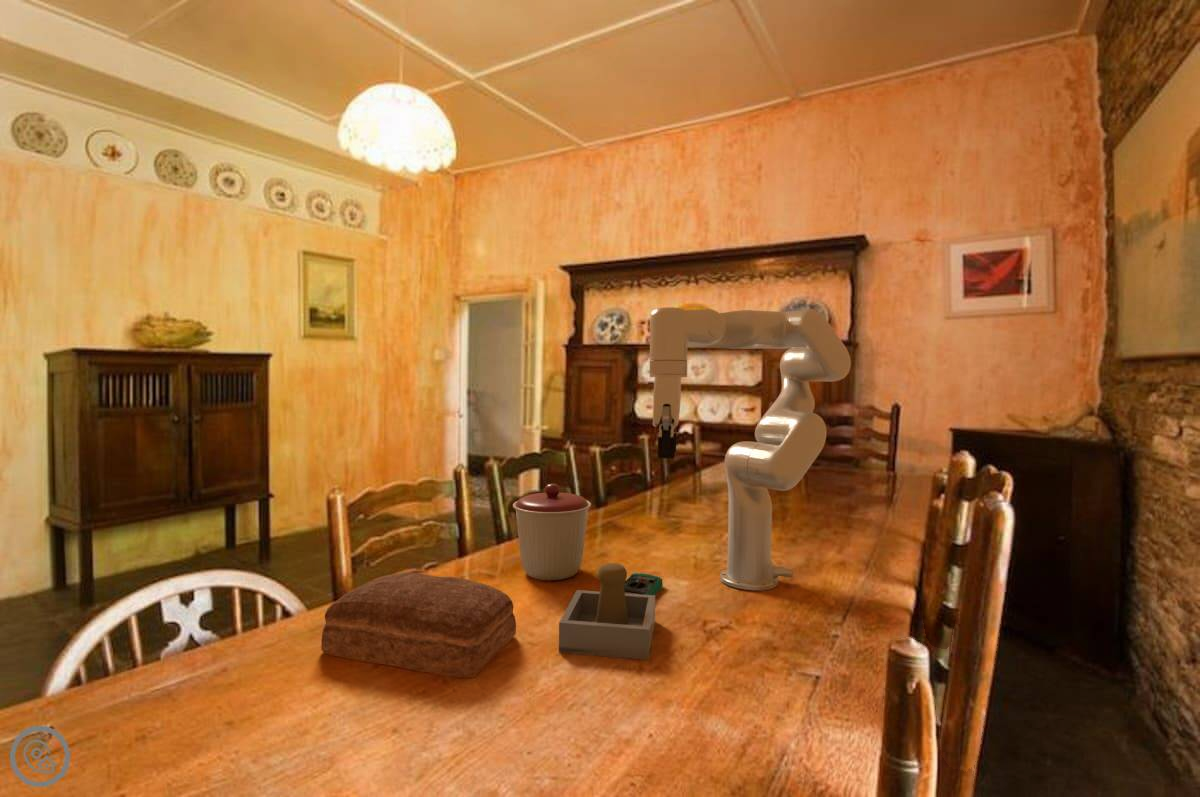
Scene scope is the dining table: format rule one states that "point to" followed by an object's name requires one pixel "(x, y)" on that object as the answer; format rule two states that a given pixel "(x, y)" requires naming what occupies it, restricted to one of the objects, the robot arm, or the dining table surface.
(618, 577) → the tan piece
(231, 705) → the dining table surface
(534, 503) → the canister
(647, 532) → the dining table surface
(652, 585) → the digital multimeter
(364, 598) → the bread
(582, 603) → the gray square tray
